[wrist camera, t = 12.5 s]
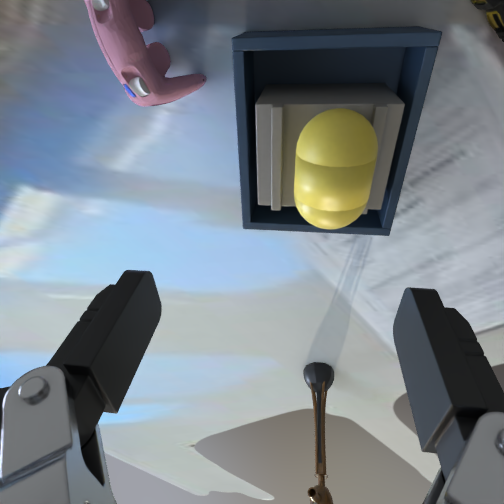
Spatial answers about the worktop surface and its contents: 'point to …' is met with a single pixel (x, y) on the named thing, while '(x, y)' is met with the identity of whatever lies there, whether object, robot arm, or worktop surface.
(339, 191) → the yellow capsule
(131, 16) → the video game controller
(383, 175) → the block
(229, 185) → the worktop surface
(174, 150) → the worktop surface
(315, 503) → the wooden tabletop sculpture
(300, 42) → the crate
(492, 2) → the tape measure
